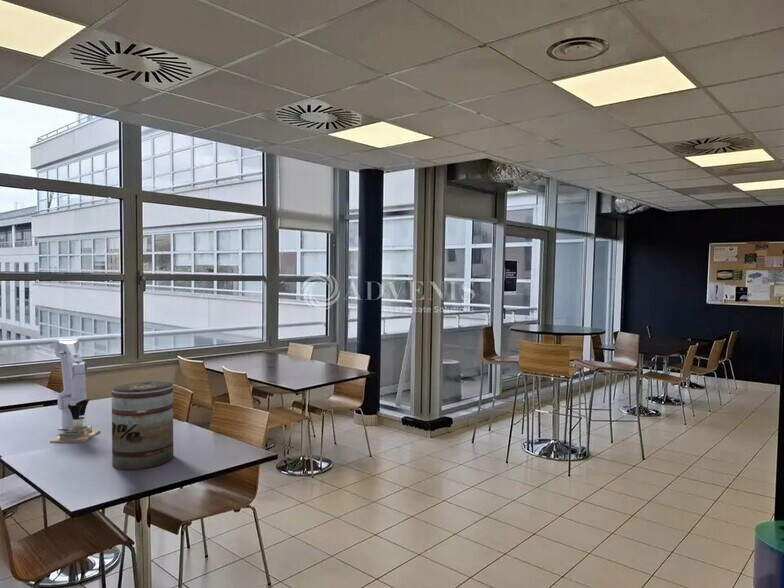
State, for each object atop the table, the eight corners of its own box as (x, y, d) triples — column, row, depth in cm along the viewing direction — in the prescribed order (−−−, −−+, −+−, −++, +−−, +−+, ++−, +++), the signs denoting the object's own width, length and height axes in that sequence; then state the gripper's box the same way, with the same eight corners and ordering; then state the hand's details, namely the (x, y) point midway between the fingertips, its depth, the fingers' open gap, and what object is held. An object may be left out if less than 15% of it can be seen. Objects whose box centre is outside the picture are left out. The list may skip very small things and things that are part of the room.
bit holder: (70, 432, 257) (70, 425, 256) (100, 432, 257) (100, 425, 257) (50, 442, 241) (49, 434, 241) (81, 442, 241) (81, 434, 241)
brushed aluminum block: (76, 432, 254) (76, 417, 254) (85, 431, 255) (85, 417, 254) (73, 434, 250) (73, 419, 250) (82, 434, 251) (82, 419, 251)
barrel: (108, 458, 220) (107, 385, 219) (166, 448, 233) (165, 379, 232) (116, 474, 201) (116, 394, 201) (179, 462, 214) (179, 388, 214)
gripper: (74, 386, 258) (75, 414, 258) (63, 392, 244) (63, 421, 244) (90, 385, 259) (91, 413, 260) (80, 391, 245) (80, 421, 246)
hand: (78, 417), depth 252 cm, fingers open, 7 cm apart
